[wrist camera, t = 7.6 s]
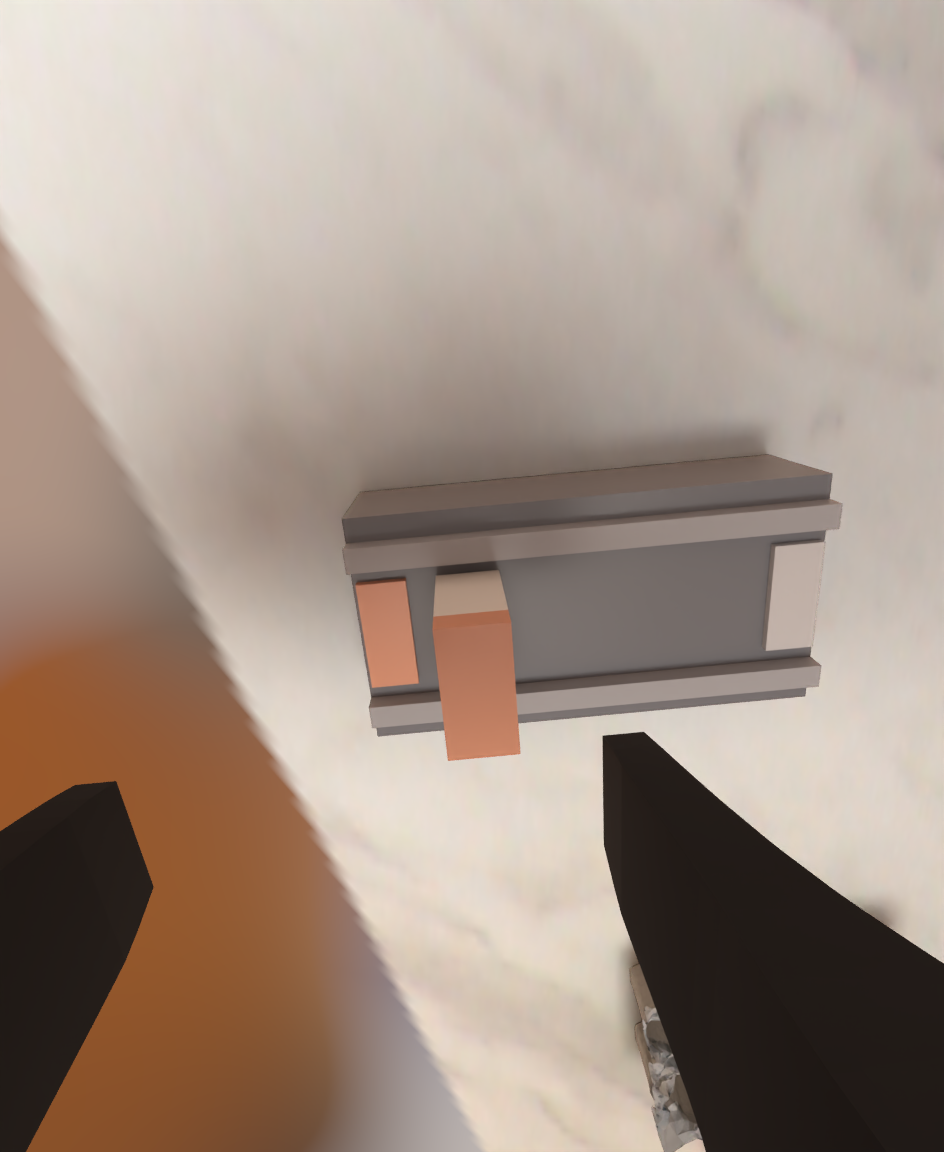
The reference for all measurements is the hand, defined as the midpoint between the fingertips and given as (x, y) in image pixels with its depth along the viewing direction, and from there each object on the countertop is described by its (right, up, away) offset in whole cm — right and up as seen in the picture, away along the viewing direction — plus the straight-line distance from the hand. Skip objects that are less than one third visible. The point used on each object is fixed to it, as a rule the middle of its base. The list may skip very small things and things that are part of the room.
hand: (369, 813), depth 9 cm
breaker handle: (+2, +2, +6) cm, 6 cm away
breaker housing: (+4, +4, +9) cm, 11 cm away
